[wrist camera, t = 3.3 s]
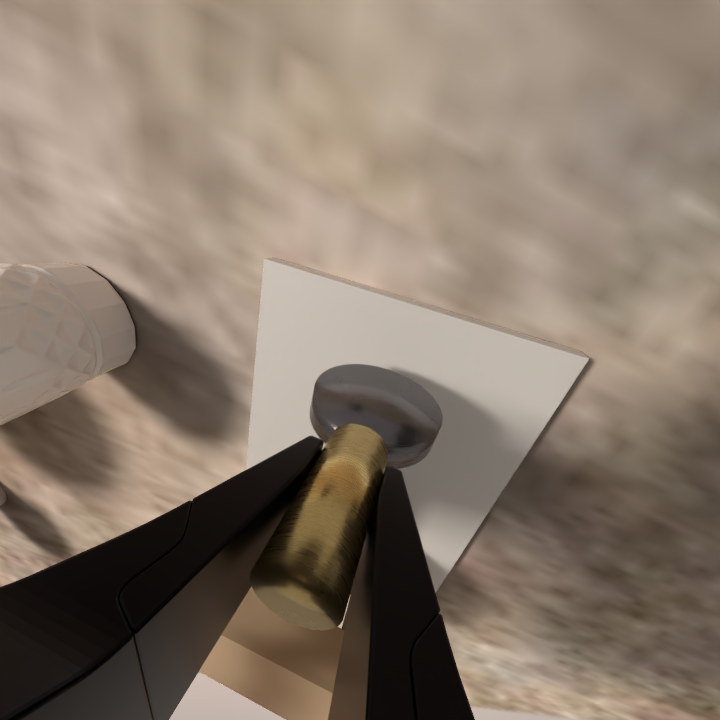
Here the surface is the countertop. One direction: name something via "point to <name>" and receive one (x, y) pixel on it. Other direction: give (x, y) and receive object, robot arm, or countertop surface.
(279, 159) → the countertop surface
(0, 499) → the coffee cup
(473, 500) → the mounting board
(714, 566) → the countertop surface
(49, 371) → the white cup
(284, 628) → the block
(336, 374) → the hook rod
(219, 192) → the countertop surface
